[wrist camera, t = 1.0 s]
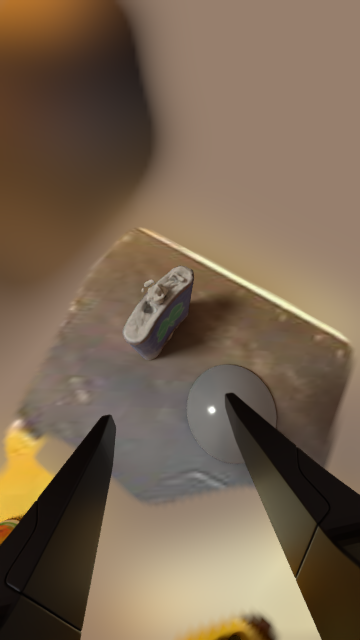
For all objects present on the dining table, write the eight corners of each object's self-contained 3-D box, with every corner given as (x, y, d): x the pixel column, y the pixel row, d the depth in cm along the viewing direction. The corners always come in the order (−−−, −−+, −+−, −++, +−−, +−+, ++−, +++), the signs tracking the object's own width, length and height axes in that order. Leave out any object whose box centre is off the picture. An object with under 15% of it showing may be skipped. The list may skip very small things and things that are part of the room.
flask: (152, 364, 23) (131, 344, 13) (134, 351, 24) (101, 322, 14) (193, 309, 26) (201, 258, 16) (176, 298, 27) (174, 243, 17)
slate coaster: (291, 434, 21) (295, 435, 20) (212, 480, 19) (212, 483, 19) (244, 352, 24) (245, 351, 23) (172, 386, 22) (172, 386, 22)
